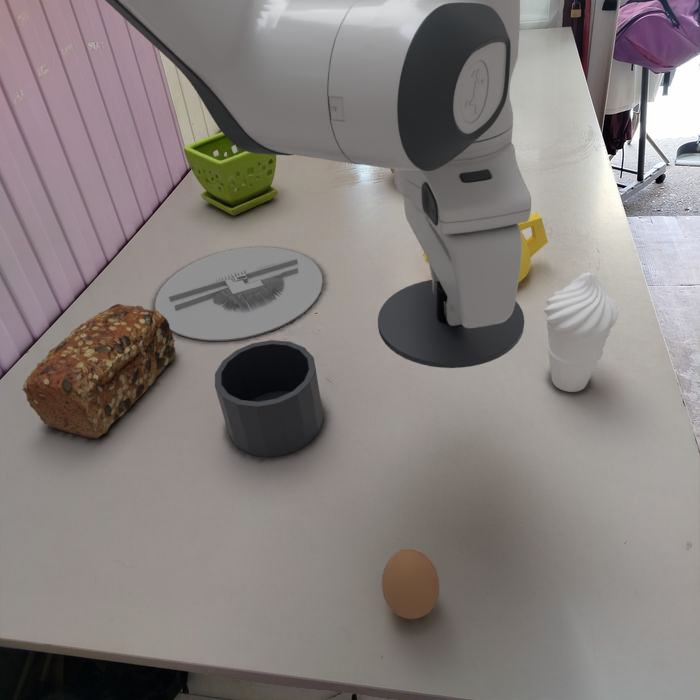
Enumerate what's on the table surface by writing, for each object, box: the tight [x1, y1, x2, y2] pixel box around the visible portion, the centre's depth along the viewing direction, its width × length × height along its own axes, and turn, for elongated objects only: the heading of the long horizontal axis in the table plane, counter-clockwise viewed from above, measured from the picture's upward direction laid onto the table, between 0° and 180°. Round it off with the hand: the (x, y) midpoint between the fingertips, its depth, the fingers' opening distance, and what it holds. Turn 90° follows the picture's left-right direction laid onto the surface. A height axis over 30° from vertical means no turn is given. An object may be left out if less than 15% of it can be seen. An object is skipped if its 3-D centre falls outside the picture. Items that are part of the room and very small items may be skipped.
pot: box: [214, 339, 324, 458], centre depth 78 cm, size 12×12×8 cm
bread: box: [21, 303, 176, 439], centre depth 86 cm, size 19×11×10 cm, turn 158°
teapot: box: [422, 212, 549, 284], centre depth 102 cm, size 20×18×11 cm
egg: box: [381, 547, 440, 620], centre depth 57 cm, size 5×5×8 cm
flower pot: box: [183, 131, 278, 216], centre depth 130 cm, size 14×14×13 cm
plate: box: [154, 246, 324, 342], centre depth 106 cm, size 28×28×1 cm
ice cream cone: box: [543, 271, 619, 393], centre depth 77 cm, size 8×8×16 cm
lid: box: [377, 279, 525, 369], centre depth 57 cm, size 13×13×5 cm
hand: (449, 308), depth 57 cm, fingers closed on lid, 2 cm apart
